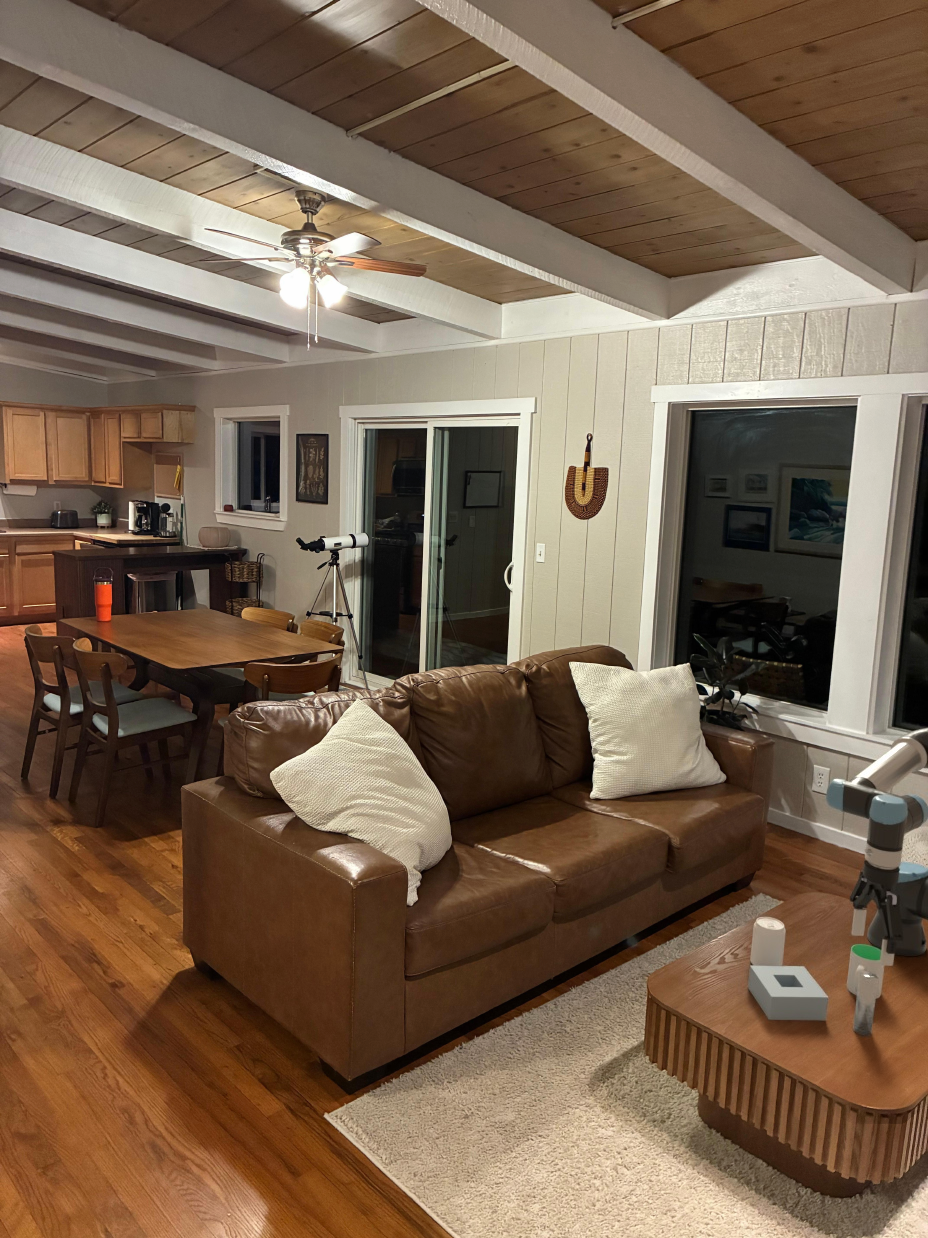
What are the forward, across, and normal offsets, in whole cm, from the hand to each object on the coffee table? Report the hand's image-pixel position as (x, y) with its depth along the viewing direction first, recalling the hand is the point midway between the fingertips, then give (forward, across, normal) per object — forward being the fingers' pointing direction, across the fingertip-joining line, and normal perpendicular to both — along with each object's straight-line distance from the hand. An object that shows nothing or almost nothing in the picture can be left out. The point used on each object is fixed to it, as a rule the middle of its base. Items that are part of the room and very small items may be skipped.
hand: (871, 949), depth 212 cm
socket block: (+21, -11, -14) cm, 27 cm away
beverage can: (+21, -29, -12) cm, 38 cm away
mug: (+21, -16, +8) cm, 27 cm away
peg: (+21, 0, 0) cm, 21 cm away
